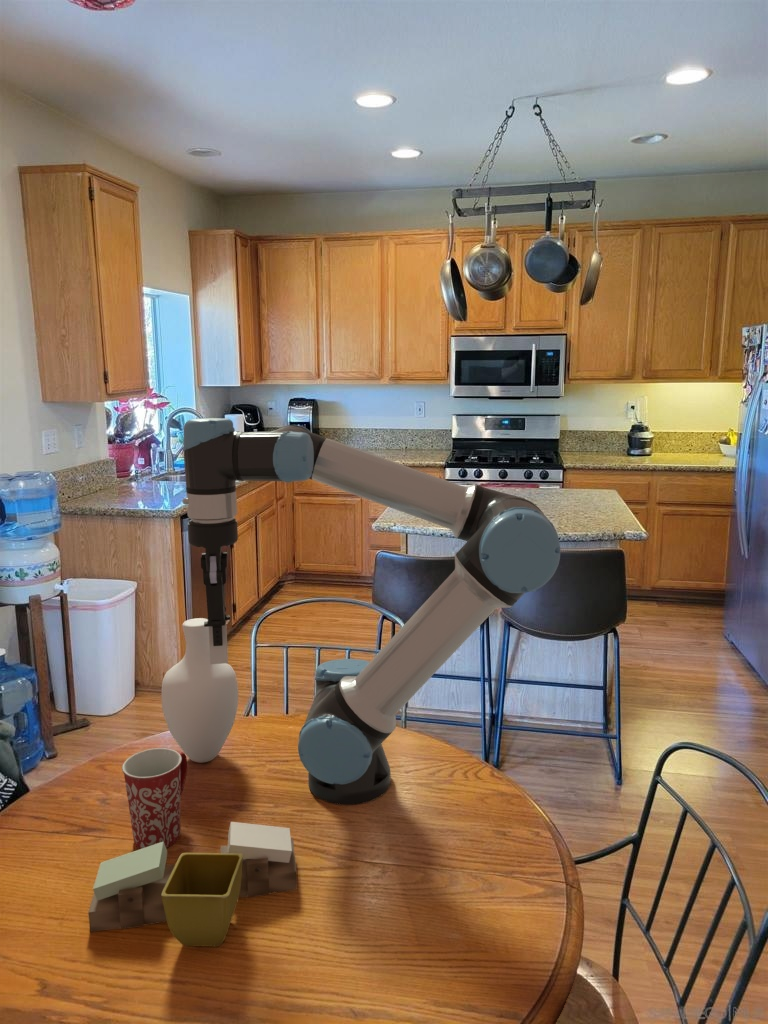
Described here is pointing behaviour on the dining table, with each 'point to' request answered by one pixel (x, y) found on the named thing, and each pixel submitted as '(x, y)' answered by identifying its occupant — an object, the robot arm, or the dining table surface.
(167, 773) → the mug
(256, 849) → the block
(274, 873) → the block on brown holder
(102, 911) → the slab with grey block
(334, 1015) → the dining table surface
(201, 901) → the flower pot
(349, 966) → the dining table surface
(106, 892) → the rocker green
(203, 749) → the vase
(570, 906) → the dining table surface
